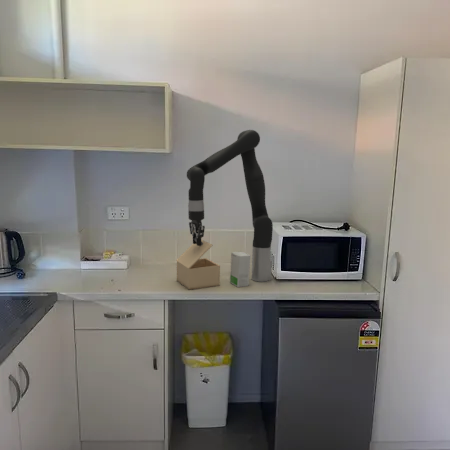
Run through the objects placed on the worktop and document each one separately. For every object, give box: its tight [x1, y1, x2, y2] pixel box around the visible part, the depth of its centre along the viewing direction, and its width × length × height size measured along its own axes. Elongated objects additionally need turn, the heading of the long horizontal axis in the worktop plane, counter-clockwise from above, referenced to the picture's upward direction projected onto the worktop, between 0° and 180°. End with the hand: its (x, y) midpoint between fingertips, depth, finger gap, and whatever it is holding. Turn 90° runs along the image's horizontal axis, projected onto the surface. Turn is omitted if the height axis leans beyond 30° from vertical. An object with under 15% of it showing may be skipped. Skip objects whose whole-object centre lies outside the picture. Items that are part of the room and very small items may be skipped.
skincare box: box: [229, 250, 251, 288], centre depth 200 cm, size 8×7×16 cm
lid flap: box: [176, 237, 213, 269], centre depth 197 cm, size 16×16×5 cm
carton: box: [176, 257, 221, 291], centre depth 201 cm, size 16×16×10 cm
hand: (197, 244), depth 198 cm, fingers closed on lid flap, 4 cm apart
